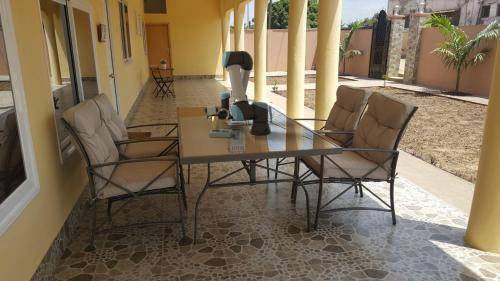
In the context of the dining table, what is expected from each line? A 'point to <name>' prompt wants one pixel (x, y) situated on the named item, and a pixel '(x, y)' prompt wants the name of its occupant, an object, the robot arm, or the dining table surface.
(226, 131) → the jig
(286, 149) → the dining table surface
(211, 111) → the pneumatic valve
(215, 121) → the gold metal cylinder
